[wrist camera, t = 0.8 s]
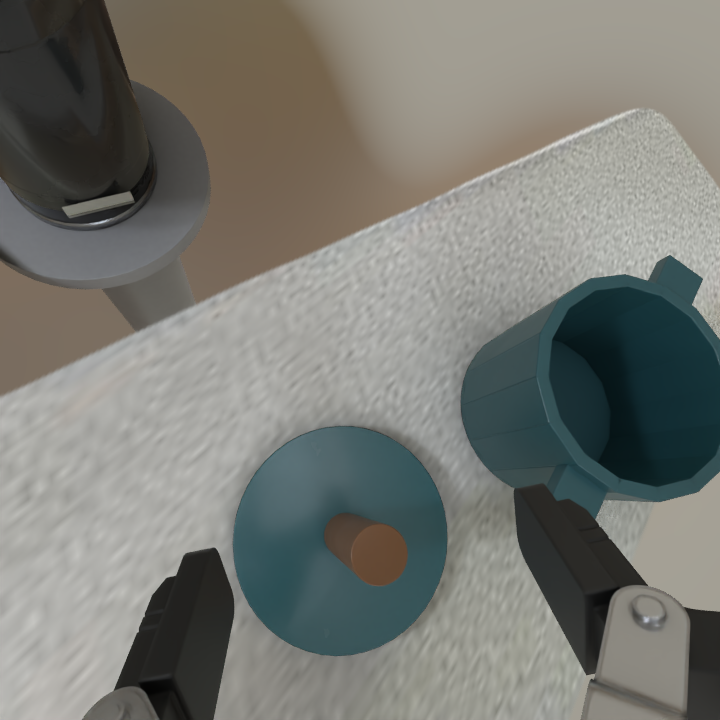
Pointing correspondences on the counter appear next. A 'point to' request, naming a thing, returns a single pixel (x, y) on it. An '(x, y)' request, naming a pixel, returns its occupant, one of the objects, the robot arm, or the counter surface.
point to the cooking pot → (602, 393)
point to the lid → (340, 540)
